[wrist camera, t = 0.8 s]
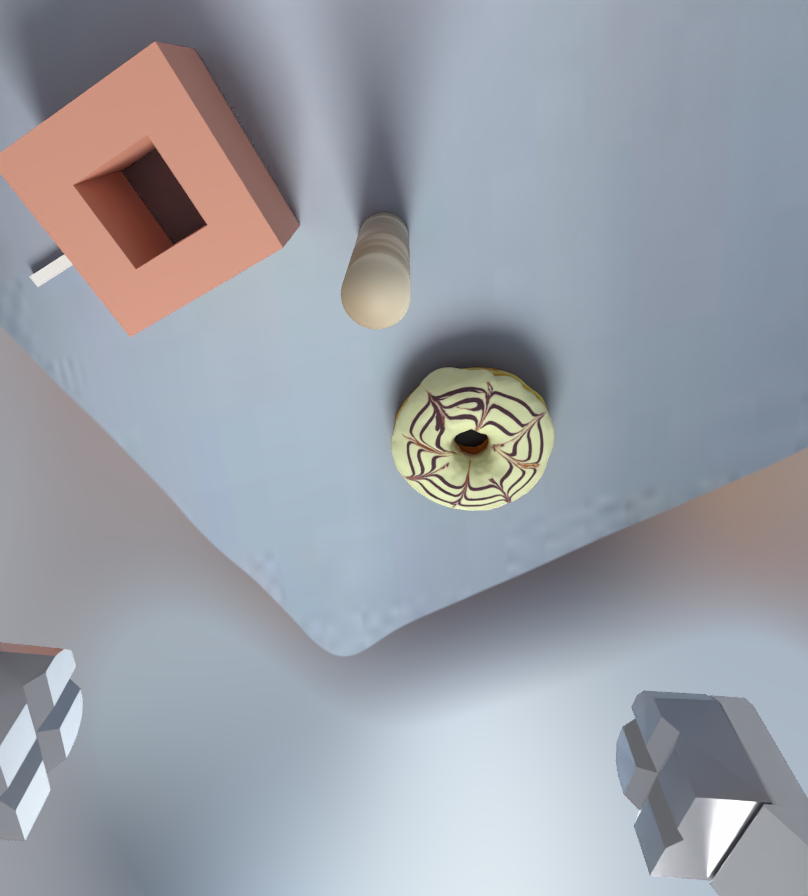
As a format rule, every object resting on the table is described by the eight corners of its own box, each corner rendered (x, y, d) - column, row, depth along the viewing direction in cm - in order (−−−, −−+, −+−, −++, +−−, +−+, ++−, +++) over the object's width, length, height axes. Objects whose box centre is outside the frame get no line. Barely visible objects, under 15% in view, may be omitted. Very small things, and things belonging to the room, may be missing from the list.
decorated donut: (411, 340, 41) (411, 362, 37) (567, 373, 42) (581, 397, 39) (379, 473, 46) (377, 502, 42) (519, 499, 47) (528, 530, 44)
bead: (194, 48, 33) (154, 40, 27) (300, 225, 37) (283, 247, 32) (51, 149, 35) (-10, 160, 30) (166, 304, 39) (130, 337, 34)
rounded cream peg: (393, 202, 36) (389, 247, 26) (417, 248, 38) (423, 309, 27) (349, 227, 37) (327, 281, 27) (374, 272, 38) (363, 340, 28)
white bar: (108, 226, 37) (105, 227, 36) (116, 236, 37) (113, 238, 37) (33, 274, 38) (29, 276, 38) (41, 284, 39) (37, 286, 38)
